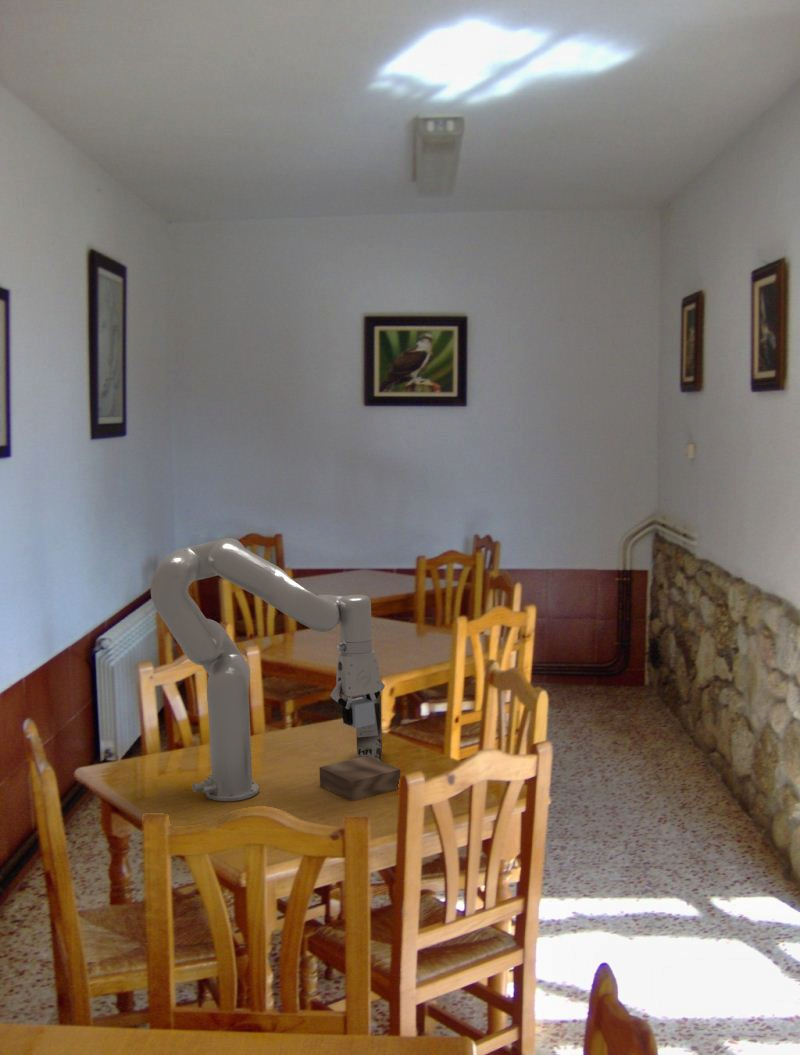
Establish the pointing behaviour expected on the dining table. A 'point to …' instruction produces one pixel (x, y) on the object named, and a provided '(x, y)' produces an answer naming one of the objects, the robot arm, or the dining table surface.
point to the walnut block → (359, 777)
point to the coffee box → (371, 735)
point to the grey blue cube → (362, 712)
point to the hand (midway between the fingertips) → (358, 720)
